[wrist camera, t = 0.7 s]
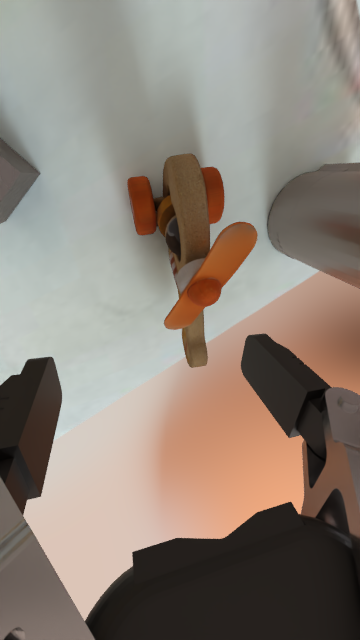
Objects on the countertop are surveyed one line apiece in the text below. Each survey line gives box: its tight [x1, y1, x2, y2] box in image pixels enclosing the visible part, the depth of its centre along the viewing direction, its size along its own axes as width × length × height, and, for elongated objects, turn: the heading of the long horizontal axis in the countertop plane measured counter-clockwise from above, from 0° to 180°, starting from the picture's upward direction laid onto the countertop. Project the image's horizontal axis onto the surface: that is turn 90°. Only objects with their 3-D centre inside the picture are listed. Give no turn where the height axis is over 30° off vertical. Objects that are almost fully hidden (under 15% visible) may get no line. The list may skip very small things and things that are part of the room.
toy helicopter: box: [127, 154, 257, 368], centre depth 22 cm, size 8×21×14 cm, turn 6°
